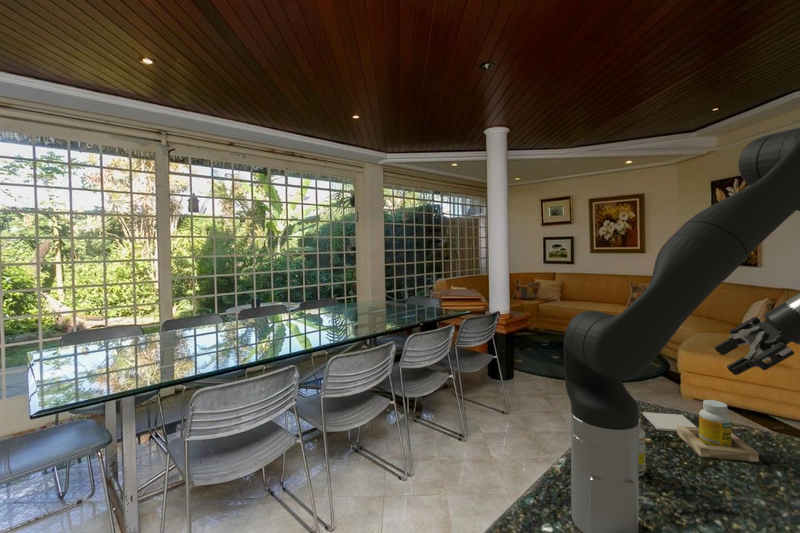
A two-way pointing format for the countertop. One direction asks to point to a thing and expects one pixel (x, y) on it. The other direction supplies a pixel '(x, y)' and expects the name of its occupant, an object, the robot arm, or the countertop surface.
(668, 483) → the countertop surface
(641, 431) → the supplement bottle
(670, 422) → the coaster
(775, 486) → the countertop surface
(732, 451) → the socket block
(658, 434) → the countertop surface
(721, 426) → the supplement bottle
